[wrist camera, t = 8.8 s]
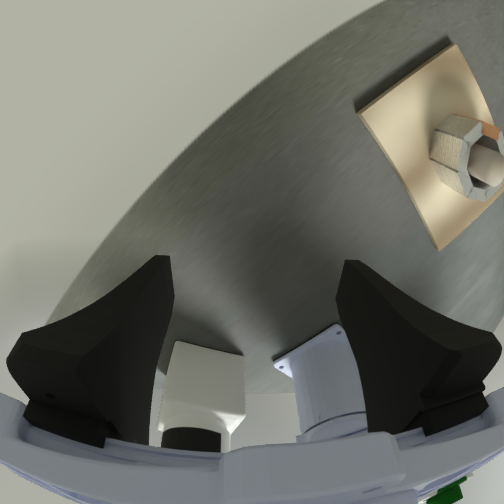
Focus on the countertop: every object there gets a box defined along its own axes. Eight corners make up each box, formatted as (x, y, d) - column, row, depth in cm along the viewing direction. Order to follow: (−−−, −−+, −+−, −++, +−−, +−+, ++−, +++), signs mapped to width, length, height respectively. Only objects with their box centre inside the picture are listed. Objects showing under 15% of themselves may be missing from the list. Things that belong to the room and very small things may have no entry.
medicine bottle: (165, 377, 30) (149, 472, 19) (175, 338, 27) (154, 452, 16) (225, 390, 31) (223, 484, 21) (245, 355, 28) (249, 466, 18)
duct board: (506, 179, 19) (544, 201, 14) (434, 247, 22) (467, 282, 18) (450, 44, 14) (497, 42, 9) (356, 113, 17) (394, 121, 12)
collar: (472, 188, 19) (497, 204, 16) (424, 179, 18) (451, 195, 15) (483, 125, 16) (512, 135, 13) (435, 107, 16) (465, 113, 13)
